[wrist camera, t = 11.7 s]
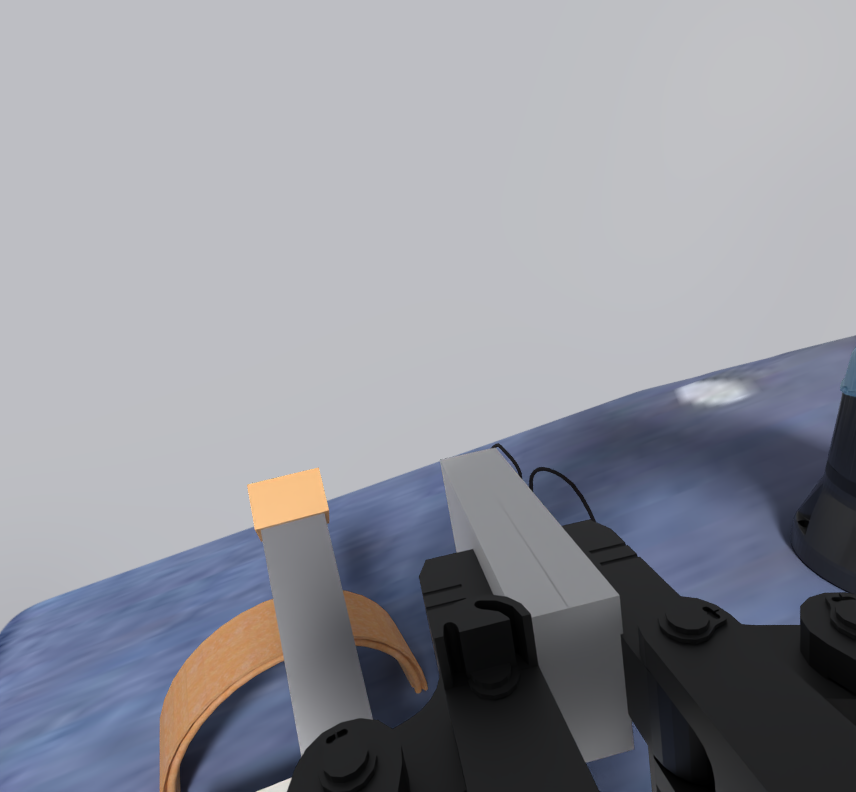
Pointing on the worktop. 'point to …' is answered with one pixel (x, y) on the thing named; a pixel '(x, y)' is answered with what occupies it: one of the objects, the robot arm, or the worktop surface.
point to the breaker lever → (309, 603)
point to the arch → (255, 670)
